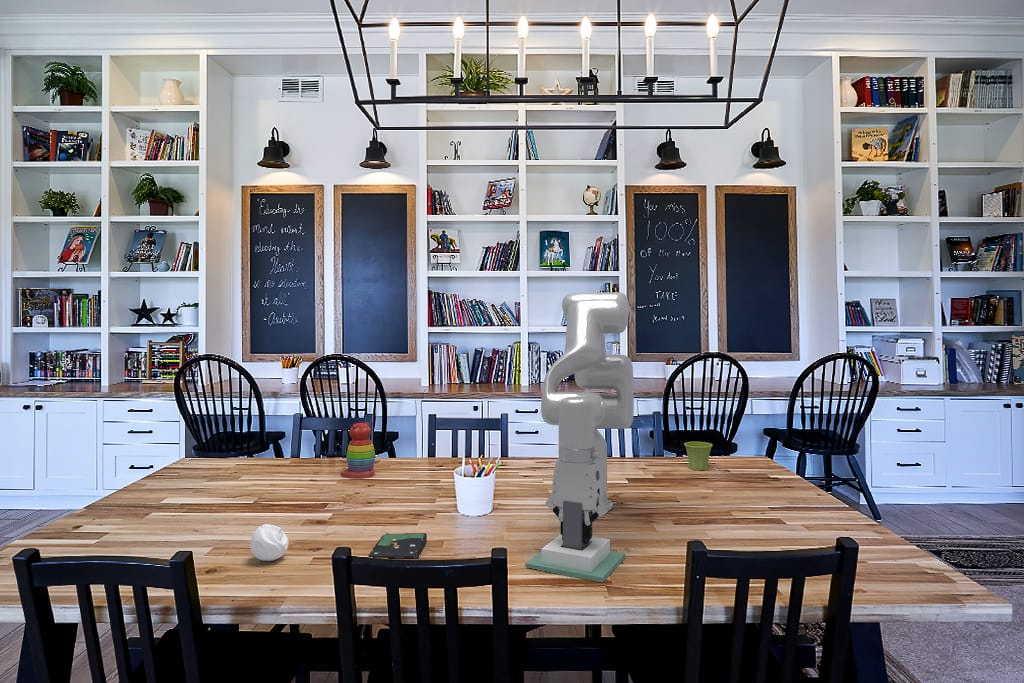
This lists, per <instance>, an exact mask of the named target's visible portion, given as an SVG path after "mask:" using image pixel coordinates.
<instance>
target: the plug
mask: <svg viewBox="0 0 1024 683" xmlns="http://www.w3.org/2000/svg"><path fill="white" fill-rule="evenodd" d="M584 522H585V521H584V516H583V510H582V505H581V504H579V503H571V502H563V548H569V549H575V550H581V551H582V550H583V549H584V548H585V547H587V546H588V545H589V542H588V543H586V544H583V525H584Z"/></svg>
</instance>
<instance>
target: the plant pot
mask: <svg viewBox="0 0 1024 683" xmlns="http://www.w3.org/2000/svg"><path fill="white" fill-rule="evenodd" d="M683 445H684V446H685V449H686V454H687V456H686V457H687V462H688V468H689V469H691V470H693V471H699V472H700V471H702V470H703V471H706V470H708V468H709V461H710V455H711V454H710V453H711V451H712V447H713V444H712V443H710V442H705V441H688V442H685V443H684V444H683Z"/></svg>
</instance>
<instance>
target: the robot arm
mask: <svg viewBox="0 0 1024 683" xmlns="http://www.w3.org/2000/svg"><path fill="white" fill-rule="evenodd" d="M561 308H562V313H563V316H564V318H565V321H566V330H565V331H566V334H565V343H564V344H565V345H564V353H563V354H562V355H561V356H560V357H559V358H557V360H555V361H554V363H552V365H551V366H550V368H549V369H548V370H547V372H546V374H545V377H544V378H543V383H542V390H541V391H542V392H541V400H540V401H541V403H540V413H541V418H542V419H543V421H544V422H545V423H546V424H548V425H551V426H558V458H557V459H556V461H555V464H554V468H553V469H554V470H553V476H552V485H551V486H552V487H551V493H550V495H549V496H548V498H547V500H546V501H545V505H546V506H547V508H549V509H550V510H551V511H552V512H553V513H554V514H555V516H556V517H557V520H558V521H559V522H560V525H559V526H560V528H559V529H560V530H559V531H560V534H561V535H562V540H563V502H571V503H579V504H581V505H582V510H583V516H584V521H585V522H584V525H583V544H586V543H588V542H589V541H590V539H591V538H592V537H593V523H594V522H595V521H596V520H597V519H598V518H600V517H602V516H604V515H605V514H607V513H608V512H609V511H611V510H612V509H613V508H614V503H613V502H612V501H611V500H609V499H608V491H609V487H608V445H607V441H606V439H605V437H604V436H603V435H602V433H601V432H600V431H599V430H598V429H601V430H602V429H622V430H625V429H628V428H630V427H631V426H632V424H633V422H634V414H635V412H634V411H635V408H634V407H635V406H634V405H635V404H634V398H635V397H634V393H635V390H634V386H635V385H634V367H633V363H632V360H631V358H630V357H628V356H627V355H624V354H617V353H615V354H612V353H611V354H610V353H609V354H607V353H606V336H605V334H621V333H624V332H625V331H626V329H627V326H628V322H629V314H630V303H629V299H628V297H627V295H626V294H625V293H623V292H618V291H617V292H613V291H612V292H611V291H610V292H595V291H594V292H574V293H570V294H567V295H565V296H564V297H563V299H562V301H561ZM572 375H574V381H575V384H576V385H577V386H578V387H580V388H582V389H586V390H589V389H590V390H614V391H615V392H616V393H602V392H601V393H600V392H599V393H597V392H596V393H595V392H577V391H556V389H557V386H558V385H559V384H560V383H562V382H561V381H564V380H565V379H566V378H568V377H569V376H572Z"/></svg>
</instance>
